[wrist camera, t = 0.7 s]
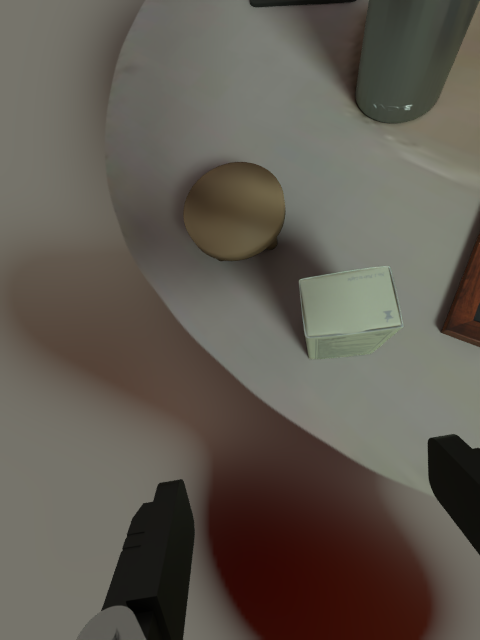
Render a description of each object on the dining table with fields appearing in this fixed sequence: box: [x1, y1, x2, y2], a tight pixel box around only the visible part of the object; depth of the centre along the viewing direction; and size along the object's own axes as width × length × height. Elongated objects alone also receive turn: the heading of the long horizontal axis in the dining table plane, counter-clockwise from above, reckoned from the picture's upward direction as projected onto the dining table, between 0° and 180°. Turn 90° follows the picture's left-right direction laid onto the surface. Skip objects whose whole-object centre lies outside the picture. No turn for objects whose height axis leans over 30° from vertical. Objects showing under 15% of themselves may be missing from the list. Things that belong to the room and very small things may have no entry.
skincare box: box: [299, 266, 403, 359], centre depth 27 cm, size 6×4×12 cm
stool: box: [183, 162, 285, 261], centre depth 35 cm, size 10×10×6 cm
